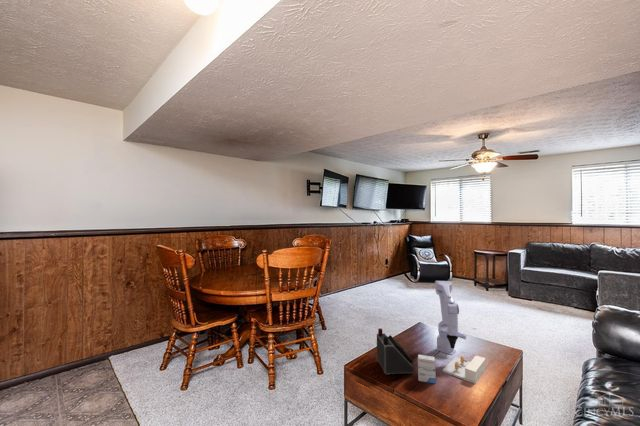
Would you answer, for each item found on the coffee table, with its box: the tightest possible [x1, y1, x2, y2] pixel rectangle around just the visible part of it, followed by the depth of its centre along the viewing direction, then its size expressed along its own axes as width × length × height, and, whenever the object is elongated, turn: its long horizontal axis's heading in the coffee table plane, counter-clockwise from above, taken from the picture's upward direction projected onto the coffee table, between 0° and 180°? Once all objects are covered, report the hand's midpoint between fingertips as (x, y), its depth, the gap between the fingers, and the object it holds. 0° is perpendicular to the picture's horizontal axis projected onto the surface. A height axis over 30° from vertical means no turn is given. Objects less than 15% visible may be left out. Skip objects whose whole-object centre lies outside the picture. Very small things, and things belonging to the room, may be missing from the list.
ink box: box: [417, 354, 437, 384], centre depth 147 cm, size 8×5×12 cm, turn 71°
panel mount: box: [442, 355, 487, 385], centre depth 156 cm, size 16×20×6 cm
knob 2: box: [460, 355, 468, 364], centre depth 160 cm, size 3×4×4 cm
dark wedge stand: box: [376, 328, 415, 376], centre depth 159 cm, size 16×16×20 cm
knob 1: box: [455, 362, 462, 370], centre depth 154 cm, size 3×4×4 cm
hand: (452, 347), depth 165 cm, fingers closed
